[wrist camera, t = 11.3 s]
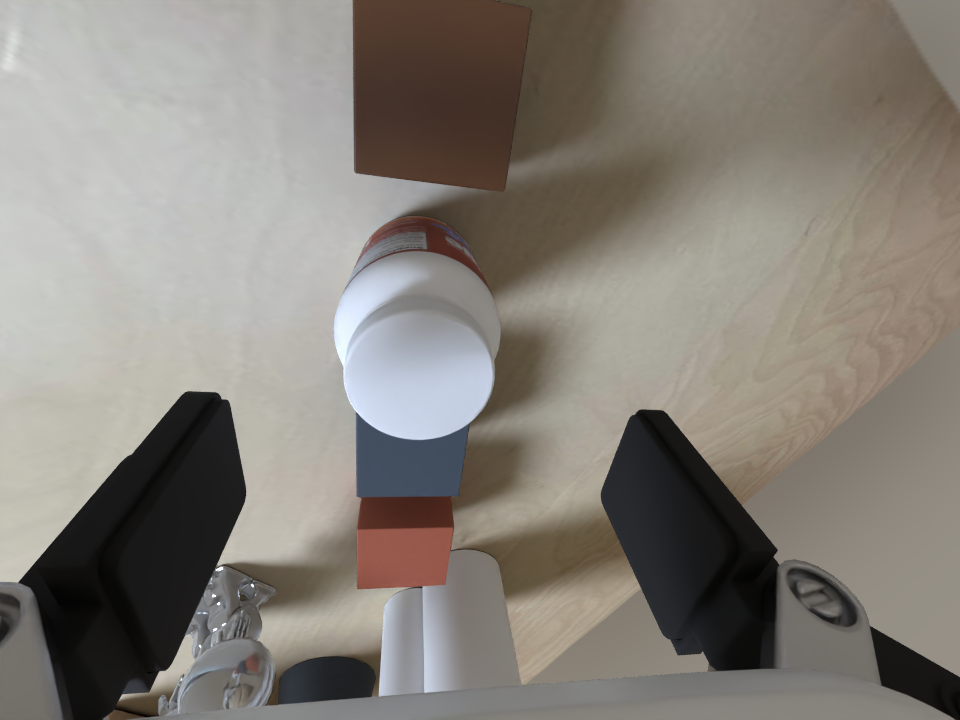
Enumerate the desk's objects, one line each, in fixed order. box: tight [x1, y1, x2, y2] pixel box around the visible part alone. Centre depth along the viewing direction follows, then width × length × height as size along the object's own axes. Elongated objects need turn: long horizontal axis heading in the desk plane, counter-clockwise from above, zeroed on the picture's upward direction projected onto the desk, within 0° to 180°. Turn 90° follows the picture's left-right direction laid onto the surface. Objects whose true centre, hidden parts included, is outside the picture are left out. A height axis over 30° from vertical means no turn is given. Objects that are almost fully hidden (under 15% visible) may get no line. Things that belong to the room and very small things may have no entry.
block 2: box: [356, 412, 470, 497], centre depth 24 cm, size 6×6×6 cm
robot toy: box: [158, 566, 277, 716], centre depth 26 cm, size 15×6×15 cm, turn 140°
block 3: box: [357, 496, 454, 589], centre depth 28 cm, size 6×6×6 cm
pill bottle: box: [334, 216, 501, 440], centre depth 18 cm, size 6×6×11 cm
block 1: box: [353, 0, 532, 192], centre depth 16 cm, size 6×6×6 cm
